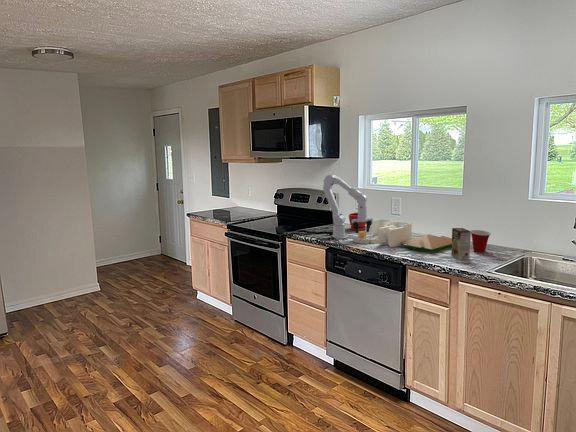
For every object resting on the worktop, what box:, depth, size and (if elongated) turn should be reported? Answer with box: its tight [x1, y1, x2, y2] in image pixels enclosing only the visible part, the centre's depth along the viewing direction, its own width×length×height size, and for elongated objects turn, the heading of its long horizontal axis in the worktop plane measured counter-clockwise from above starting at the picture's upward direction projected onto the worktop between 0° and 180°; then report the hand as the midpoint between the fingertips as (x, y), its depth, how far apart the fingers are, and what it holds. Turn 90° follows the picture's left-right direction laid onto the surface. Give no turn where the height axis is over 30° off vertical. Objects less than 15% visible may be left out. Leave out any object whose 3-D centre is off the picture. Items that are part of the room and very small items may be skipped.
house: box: [400, 233, 452, 254], centre depth 258 cm, size 23×33×8 cm
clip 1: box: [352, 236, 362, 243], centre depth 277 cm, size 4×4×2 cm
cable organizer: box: [377, 225, 407, 248], centre depth 264 cm, size 15×11×12 cm
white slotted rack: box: [370, 218, 413, 241], centre depth 286 cm, size 25×11×11 cm, turn 39°
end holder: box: [364, 235, 378, 244], centre depth 276 cm, size 9×9×2 cm
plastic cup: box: [470, 229, 491, 254], centre depth 242 cm, size 11×11×12 cm
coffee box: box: [450, 227, 472, 261], centre depth 231 cm, size 9×6×16 cm
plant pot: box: [348, 212, 366, 231], centre depth 315 cm, size 13×13×12 cm
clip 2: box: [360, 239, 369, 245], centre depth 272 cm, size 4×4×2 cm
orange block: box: [357, 230, 367, 239], centre depth 285 cm, size 6×4×5 cm, turn 12°
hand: (362, 232), depth 284 cm, fingers open, 7 cm apart
